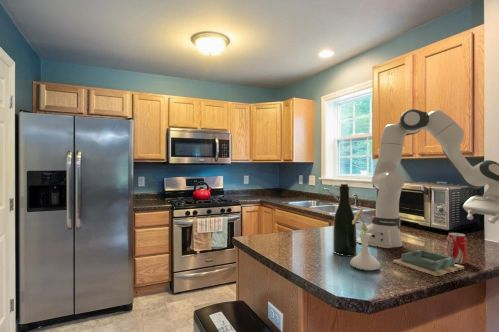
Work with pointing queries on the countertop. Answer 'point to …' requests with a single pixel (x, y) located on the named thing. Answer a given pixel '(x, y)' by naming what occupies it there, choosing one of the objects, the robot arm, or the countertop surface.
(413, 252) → the tray
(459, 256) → the soda can
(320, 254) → the countertop surface
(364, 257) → the flower in vase
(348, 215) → the dark green wine bottle
